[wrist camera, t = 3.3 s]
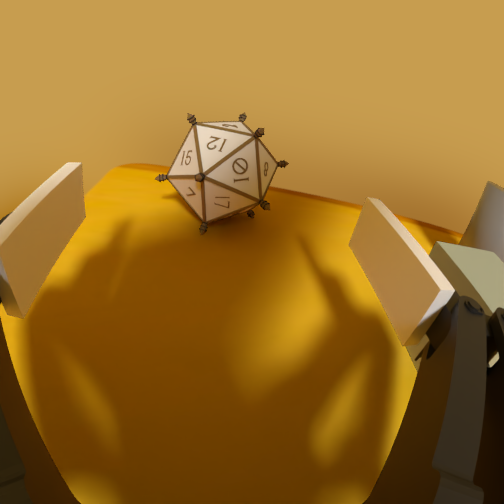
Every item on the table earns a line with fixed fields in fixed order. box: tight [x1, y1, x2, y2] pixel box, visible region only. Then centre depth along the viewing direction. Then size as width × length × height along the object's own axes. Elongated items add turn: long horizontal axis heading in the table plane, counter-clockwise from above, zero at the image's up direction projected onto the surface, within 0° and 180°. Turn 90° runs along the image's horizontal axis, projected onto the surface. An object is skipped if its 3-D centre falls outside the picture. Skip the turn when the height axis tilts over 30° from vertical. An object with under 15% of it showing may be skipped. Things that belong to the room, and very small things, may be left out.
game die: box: [155, 113, 289, 235], centre depth 22 cm, size 9×8×10 cm
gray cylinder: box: [459, 181, 504, 263], centre depth 21 cm, size 6×6×9 cm
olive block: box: [406, 241, 504, 372], centre depth 14 cm, size 6×6×6 cm
